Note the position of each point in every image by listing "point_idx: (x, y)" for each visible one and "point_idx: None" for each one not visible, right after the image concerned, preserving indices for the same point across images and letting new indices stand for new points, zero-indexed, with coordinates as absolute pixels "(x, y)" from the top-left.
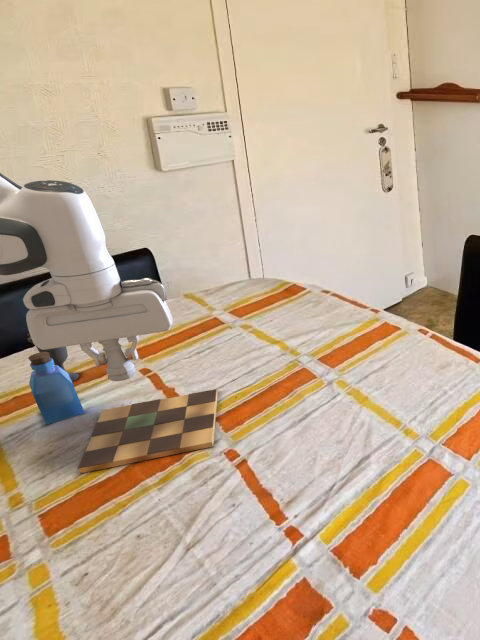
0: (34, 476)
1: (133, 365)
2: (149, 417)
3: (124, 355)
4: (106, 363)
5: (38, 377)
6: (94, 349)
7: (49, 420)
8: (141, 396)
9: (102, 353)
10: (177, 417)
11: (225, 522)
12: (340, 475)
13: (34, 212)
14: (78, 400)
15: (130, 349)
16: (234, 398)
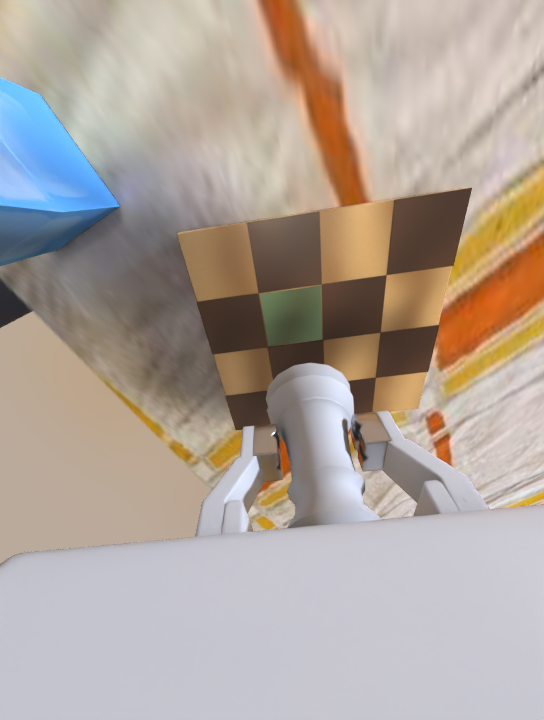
0: (171, 416)
1: (353, 405)
2: (308, 308)
3: (348, 441)
4: (279, 440)
5: None
6: (245, 480)
7: (58, 246)
8: (244, 126)
9: (272, 460)
10: (367, 324)
11: (407, 504)
12: (533, 473)
13: None
14: (96, 209)
15: (393, 480)
16: (492, 232)
